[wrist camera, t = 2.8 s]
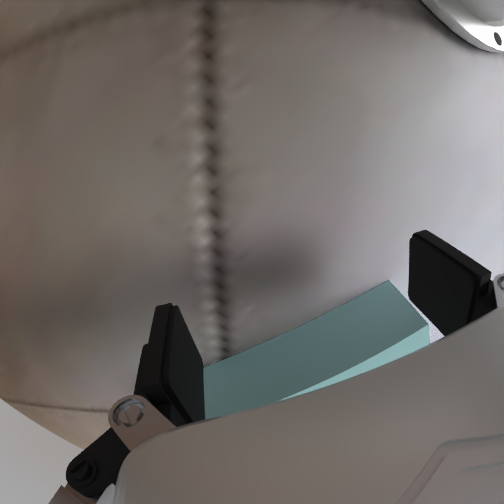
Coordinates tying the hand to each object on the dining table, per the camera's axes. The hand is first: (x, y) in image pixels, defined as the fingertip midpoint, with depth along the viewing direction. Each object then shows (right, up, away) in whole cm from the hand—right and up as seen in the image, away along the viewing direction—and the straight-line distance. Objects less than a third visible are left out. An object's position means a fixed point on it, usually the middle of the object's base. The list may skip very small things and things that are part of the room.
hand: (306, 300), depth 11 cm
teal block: (+2, -5, +7) cm, 9 cm away
